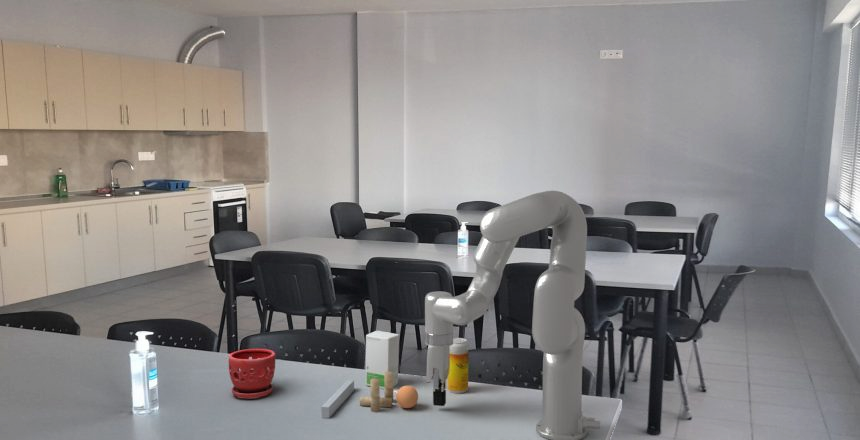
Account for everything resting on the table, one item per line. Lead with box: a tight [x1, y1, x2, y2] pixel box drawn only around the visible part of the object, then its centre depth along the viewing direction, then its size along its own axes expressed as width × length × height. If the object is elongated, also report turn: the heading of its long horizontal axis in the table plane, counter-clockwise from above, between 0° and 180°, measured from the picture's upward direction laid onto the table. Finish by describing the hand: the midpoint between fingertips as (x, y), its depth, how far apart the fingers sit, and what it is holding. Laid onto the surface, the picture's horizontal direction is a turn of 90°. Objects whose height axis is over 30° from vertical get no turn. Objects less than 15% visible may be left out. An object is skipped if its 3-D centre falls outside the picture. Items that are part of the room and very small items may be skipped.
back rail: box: [321, 379, 355, 419], centre depth 193 cm, size 2×22×3 cm, turn 169°
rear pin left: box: [370, 378, 381, 413], centre depth 187 cm, size 2×2×8 cm
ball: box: [395, 385, 419, 409], centre depth 189 cm, size 6×6×6 cm
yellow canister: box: [446, 337, 469, 394], centre depth 202 cm, size 6×6×15 cm
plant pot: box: [228, 348, 276, 400], centre depth 201 cm, size 13×13×12 cm
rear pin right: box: [384, 371, 394, 404], centre depth 194 cm, size 2×2×8 cm
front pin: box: [359, 396, 393, 408], centre depth 191 cm, size 2×2×8 cm
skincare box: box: [364, 330, 400, 390], centre depth 208 cm, size 8×7×16 cm
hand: (439, 404), depth 188 cm, fingers closed
